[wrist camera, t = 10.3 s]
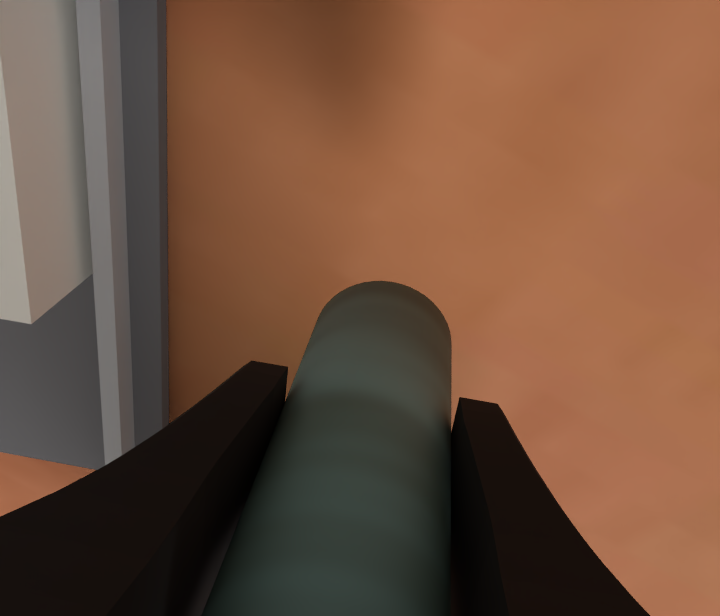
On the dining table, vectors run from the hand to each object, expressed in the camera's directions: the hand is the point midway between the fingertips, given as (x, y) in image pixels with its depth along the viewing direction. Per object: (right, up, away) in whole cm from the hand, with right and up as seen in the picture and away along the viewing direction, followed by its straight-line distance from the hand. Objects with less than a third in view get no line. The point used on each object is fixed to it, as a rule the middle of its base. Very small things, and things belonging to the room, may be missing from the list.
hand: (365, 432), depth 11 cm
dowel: (0, +1, +3) cm, 3 cm away
